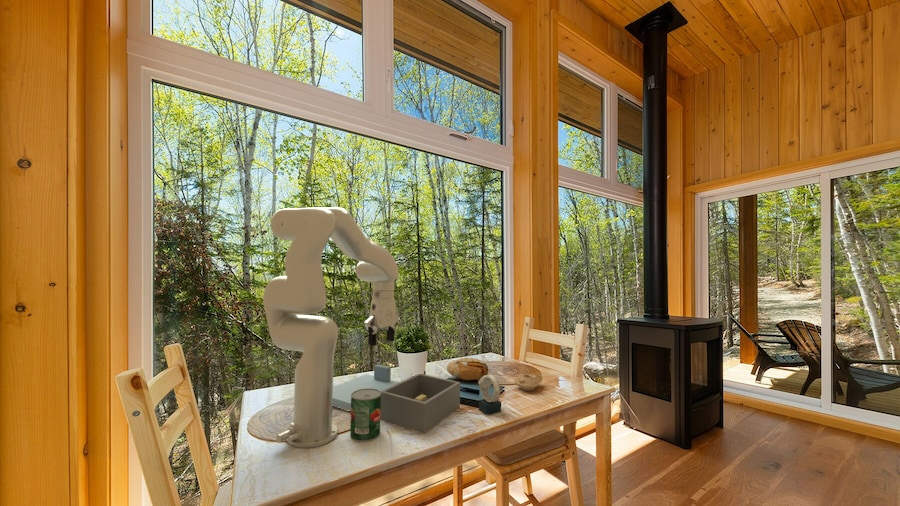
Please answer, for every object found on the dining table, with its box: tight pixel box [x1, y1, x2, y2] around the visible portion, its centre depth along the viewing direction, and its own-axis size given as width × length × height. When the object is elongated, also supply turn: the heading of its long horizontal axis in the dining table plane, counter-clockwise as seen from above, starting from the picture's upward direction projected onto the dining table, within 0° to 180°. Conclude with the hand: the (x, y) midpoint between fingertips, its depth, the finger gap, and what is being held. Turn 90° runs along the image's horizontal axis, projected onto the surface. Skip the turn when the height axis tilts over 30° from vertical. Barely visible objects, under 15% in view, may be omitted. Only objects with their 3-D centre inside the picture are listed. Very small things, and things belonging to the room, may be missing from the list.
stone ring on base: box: [477, 374, 502, 416], centre depth 114 cm, size 6×8×11 cm
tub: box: [380, 374, 461, 434], centre depth 112 cm, size 20×16×8 cm
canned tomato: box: [349, 388, 381, 443], centre depth 98 cm, size 8×8×11 cm
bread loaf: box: [446, 357, 495, 381], centre depth 141 cm, size 8×22×15 cm
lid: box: [332, 364, 401, 411], centre depth 124 cm, size 23×19×8 cm
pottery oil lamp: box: [513, 373, 543, 392], centre depth 134 cm, size 9×12×7 cm
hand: (381, 342), depth 131 cm, fingers open, 9 cm apart
